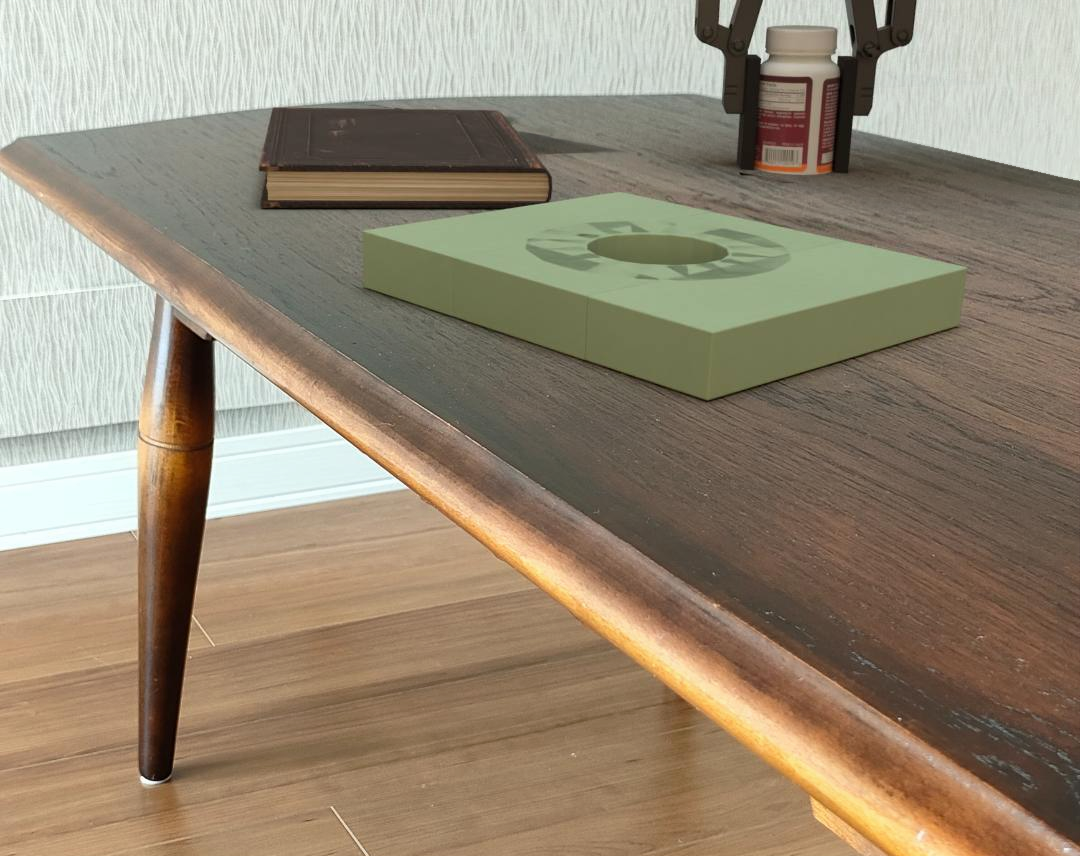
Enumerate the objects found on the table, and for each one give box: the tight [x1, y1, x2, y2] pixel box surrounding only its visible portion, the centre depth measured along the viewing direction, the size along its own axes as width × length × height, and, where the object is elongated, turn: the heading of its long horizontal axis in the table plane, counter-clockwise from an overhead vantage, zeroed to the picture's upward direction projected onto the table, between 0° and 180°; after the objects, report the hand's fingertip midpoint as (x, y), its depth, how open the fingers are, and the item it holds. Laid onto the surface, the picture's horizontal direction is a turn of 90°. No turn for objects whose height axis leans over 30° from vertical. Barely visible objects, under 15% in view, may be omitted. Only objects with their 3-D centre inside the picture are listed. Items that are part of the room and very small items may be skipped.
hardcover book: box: [258, 107, 553, 209], centre depth 90 cm, size 16×23×2 cm
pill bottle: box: [753, 24, 840, 184], centre depth 84 cm, size 5×5×8 cm
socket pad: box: [362, 191, 968, 401], centre depth 62 cm, size 20×16×2 cm
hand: (791, 171), depth 85 cm, fingers closed on pill bottle, 5 cm apart
